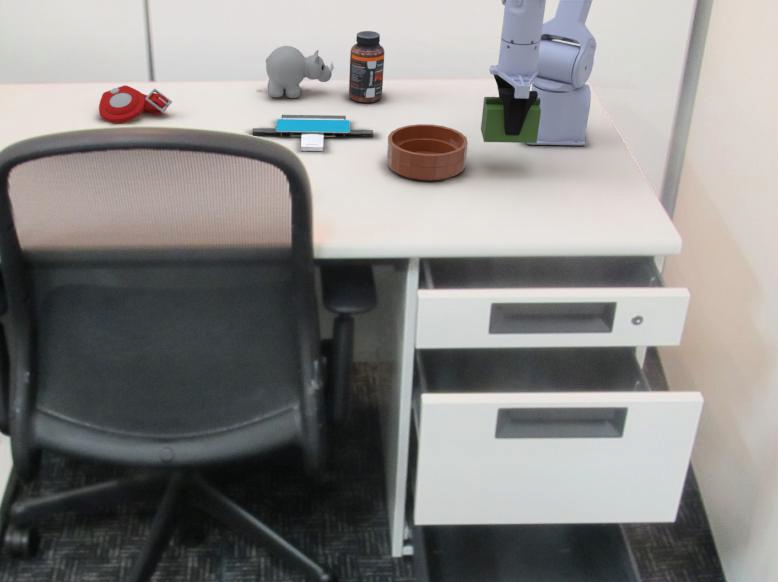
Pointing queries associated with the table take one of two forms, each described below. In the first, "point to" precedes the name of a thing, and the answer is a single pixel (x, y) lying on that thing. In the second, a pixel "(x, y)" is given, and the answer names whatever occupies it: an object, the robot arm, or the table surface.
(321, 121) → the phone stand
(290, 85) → the round bodied animal figurine
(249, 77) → the table surface
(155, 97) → the tracker holder
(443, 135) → the bowl
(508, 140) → the green block
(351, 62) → the supplement bottle
